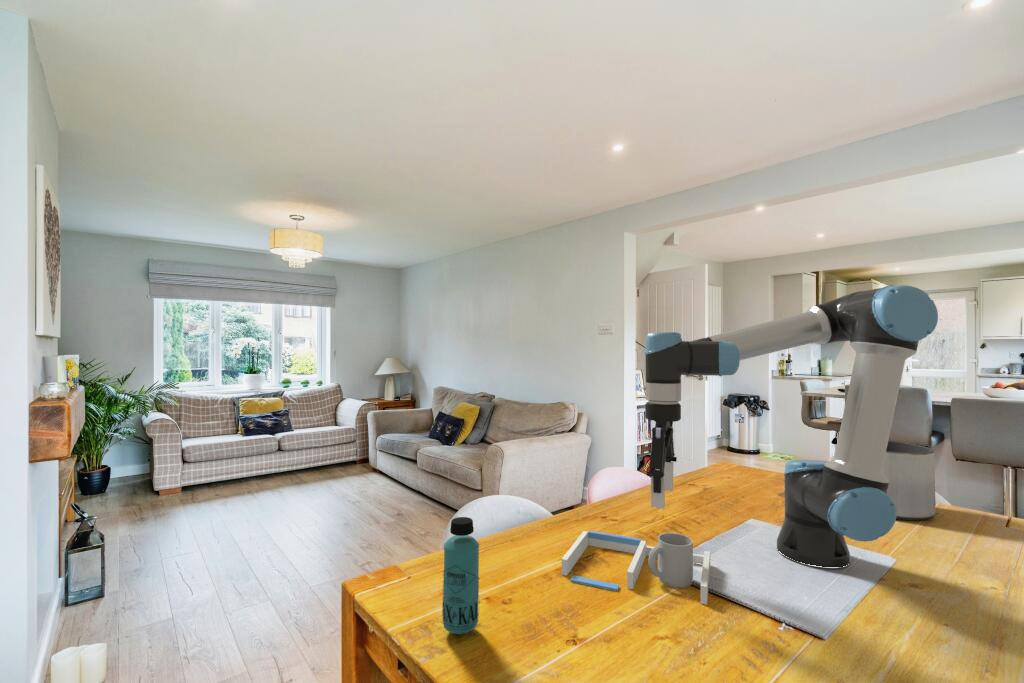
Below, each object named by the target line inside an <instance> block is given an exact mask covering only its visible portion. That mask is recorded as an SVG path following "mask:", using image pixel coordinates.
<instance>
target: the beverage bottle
mask: <svg viewBox="0 0 1024 683" xmlns="http://www.w3.org/2000/svg"><path fill="white" fill-rule="evenodd" d="M474 529H475V528H474V520H473V519H472V518H471V517H467V516H459V517H455V518H452V519H451V522H450V529H449V530H450V534H451V535H453V536H450V537H449V538H448V539H447V540H446V541H445V543H444V545H443V550H444V551H443V553H444V554H443V555H444V557H443V571H442V575H443V580H442V609H441V610H442V614H441V620H442V621H441V623H442V625H443V628H444V629H445V630H446V631H447V632H448V633H452V634H457V635H458V634H459V635H462V634H467V633H470V632H472V631H473V630H474V629H476V627H477V626H478V623H479V618H480V617H479V597H480V595H479V592H480V589H479V588H480V585H479V583H480V582H479V581H480V577H479V574H480V573H479V571H480V570H479V565H480V562H479V560H480V559H479V554H480V553H479V552H480V550H479V549H480V543H479V541H477V540H476V538H474V537H473V536H472V535H471V534H473V533H474Z"/></svg>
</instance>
